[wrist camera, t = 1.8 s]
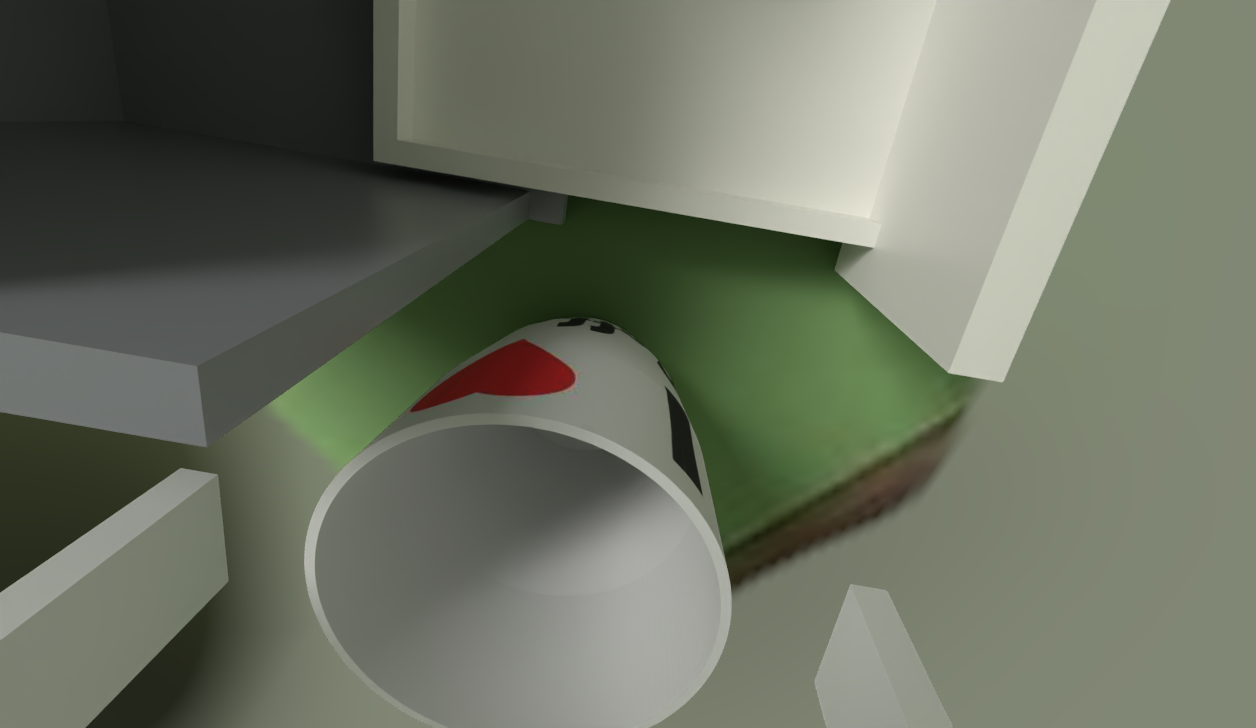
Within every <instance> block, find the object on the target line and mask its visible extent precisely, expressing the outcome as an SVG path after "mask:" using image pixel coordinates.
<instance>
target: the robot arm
mask: <svg viewBox="0 0 1256 728" xmlns="http://www.w3.org/2000/svg"><path fill="white" fill-rule="evenodd" d="M219 492H220V491H219V482H218V475H217V474H212V473H206V472H200V471H194V470H188V469H183V468H180V469H179V470H177V471H176V472H175V473H173V474H172V475H170V476H169V477H168V478H166V479H165V480H163V481H162V482H160V483H159V484H157V485H156V486H154V487H153V488H151V489H150V490H149V491H147V492H146V493H144V494H143V495H141V496H140V497H138V498H137V499H136V500H134V501H133V502H131V503H130V504H128V505H127V506H125V507H124V508H122V509H121V510H120V511H118V512H117V513H115V514H114V515H112V516H111V517H109V518H108V519H107V520H105V521H104V522H102V523H101V524H99V525H98V526H97V527H95V528H93V529H92V530H91V531H89V532H88V533H86V534H85V535H83V536H82V537H80V538H79V539H78V540H76V541H75V542H74V543H72V544H70V545H69V546H67V547H66V548H65V549H63V550H62V551H60V552H59V553H57V554H56V555H54V556H53V557H52V558H50V559H49V560H47V561H46V562H44V563H43V564H41V565H40V566H39V567H37V568H36V569H34V570H33V571H31V572H30V573H28V574H27V575H26V576H24V577H23V578H21V579H20V580H18V581H17V582H15V583H14V584H12V585H11V586H9V587H8V588H7V589H5V590H4V591H2V592H1V593H0V728H85V727H86V726H87V725H88V724H89V723H90V722H91V721H92V720H93V719H94V718H95V717H96V716H97V715H98V714H99V713H100V712H101V711H102V710H103V709H104V708H105V707H106V706H107V705H108V704H109V703H110V702H111V701H112V700H113V698H115V697H116V696H117V695H118V694H119V692H120V691H121V690H122V689H123V688H124V687H125V686H126V685H127V684H128V683H129V682H130V681H131V680H132V679H133V678H134V677H135V676H136V675H137V674H138V673H139V672H140V671H141V670H142V669H143V668H144V667H145V666H146V665H147V664H148V663H149V662H150V661H151V660H152V659H153V658H154V657H155V656H156V655H157V654H158V653H159V652H160V651H161V650H162V648H163V647H164V646H165V645H166V644H167V643H168V642H169V641H170V640H171V639H172V638H173V637H174V636H175V635H176V634H177V633H178V632H179V631H180V630H181V629H182V628H183V627H184V626H185V625H186V624H187V623H188V622H189V621H190V620H191V619H192V618H193V617H194V615H195V614H197V612H199V611H200V610H201V609H202V608H203V606H205V605H206V603H207V602H208V601H209V600H210V599H211V598H212V597H213V596H214V595H215V594H216V593H217V592H218V591H219V590H220V589H221V588H222V587H223V586H224V585H225V584H226V583H227V582H228V571H227V561H226V551H225V541H224V532H223V521H222V513H221V512H222V511H221V501H220V493H219ZM814 685H815V688H816V692H817V695H818V699H819V703H820V706H821V710H822V714H823V718H824V722H825V725H826V728H953V726H952V724H951V722H950V720H949V718H948V715H947V714H946V711H945V709H944V707H943V705H942V703H941V701H940V699H939V697H938V695H937V693H936V691H935V689H934V686H933V684H932V682H931V680H930V678H929V676H928V674H927V672H926V670H925V668H924V666H923V664H922V662H921V659H920V657H919V655H918V653H917V651H916V649H915V647H914V645H913V643H912V641H911V639H910V637H909V635H908V633H907V631H906V628H905V626H904V624H903V622H902V620H901V618H900V616H899V614H898V612H897V610H896V608H895V606H894V603H893V602H892V599H891V598H890V595H889V593H888V591H887V590H883V589H876V588H871V587H865V586H860V585H854V584H850V586H849V589H848V592H847V594H846V597H845V600H844V602H843V605H842V608H841V610H840V613H839V616H838V618H837V621H836V624H835V626H834V629H833V632H832V634H831V637H830V640H829V642H828V645H827V648H826V650H825V653H824V656H823V659H822V661H821V664H820V667H819V669H818V672H817V675H816V678H815V680H814Z"/></svg>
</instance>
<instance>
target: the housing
mask: <svg viewBox="0 0 1256 728" xmlns="http://www.w3.org/2000/svg"><path fill="white" fill-rule="evenodd" d="M567 202H568V195H567V194H561V193H556V192H550V191H544V190H538V189H533V188H527V187H521V186H515V185H510V184H504V183H498V182H492V181H487V180H481V179H475V178H469V177H464V176H458V175H452V174H446V173H441V172H435V171H429V170H423V169H418V168H412V167H406V166H400V165H395V164H389V163H383V162H377V161H373V0H0V412H5V413H10V414H16V415H22V416H27V417H33V418H40V419H45V420H51V421H57V422H63V423H68V424H74V425H80V426H86V427H91V428H97V429H103V430H109V431H115V432H120V433H126V434H133V435H138V436H144V437H150V438H155V439H161V440H167V441H173V442H179V443H185V444H191V445H197V446H202V447H208V446H209V445H211V444H212V443H214V442H215V441H217V440H218V439H219V438H221V437H222V436H224V435H225V434H226V433H228V432H229V431H231V430H232V429H233V428H235V427H236V426H238V425H239V424H241V423H242V422H243V421H245V420H246V419H247V418H249V417H250V416H252V415H253V414H254V413H256V412H257V411H259V410H260V409H262V408H263V407H264V406H266V405H267V404H269V403H270V402H271V401H273V400H274V399H276V398H277V397H279V396H280V395H281V394H283V393H284V392H286V391H287V390H288V389H290V388H291V387H293V386H294V385H295V384H297V383H298V382H300V381H301V380H302V379H304V378H305V377H307V376H308V375H309V374H311V373H312V372H314V371H315V370H316V369H318V368H319V367H321V366H322V365H324V364H325V363H326V362H328V361H329V360H331V359H332V358H333V357H335V356H336V355H338V354H339V353H340V352H342V351H343V350H345V349H346V348H347V347H349V346H350V345H352V344H353V343H354V342H356V341H357V340H359V339H360V338H361V337H363V336H364V335H366V334H367V333H369V332H370V331H371V330H373V329H374V328H376V327H377V326H378V325H380V324H381V323H383V322H384V321H385V320H387V319H388V318H390V317H391V316H392V315H394V314H395V313H397V312H398V311H399V310H401V309H402V308H404V307H405V306H406V305H408V304H409V303H411V302H412V301H413V300H415V299H416V298H418V297H419V296H421V295H422V294H423V293H425V292H426V291H428V290H429V289H430V288H432V287H433V286H435V285H436V284H437V283H439V282H440V281H442V280H443V279H444V278H446V277H447V276H449V275H450V274H451V273H453V272H454V271H456V270H457V269H458V268H460V267H461V266H463V265H464V264H466V263H467V262H468V261H470V260H471V259H473V258H474V257H475V256H477V255H478V254H480V253H481V252H482V251H484V250H485V249H487V248H488V247H489V246H491V245H492V244H494V243H495V242H496V241H498V240H499V239H501V238H502V237H503V236H505V235H506V234H508V233H509V232H511V231H512V230H513V229H515V228H516V227H518V226H519V225H520V224H522V223H523V222H525V221H526V220H527V219H528V220H534V221H540V222H546V223H551V224H557V225H562V224H563V223H564V222H565V219H566V211H567Z"/></svg>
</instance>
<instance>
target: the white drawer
mask: <svg viewBox="0 0 1256 728" xmlns="http://www.w3.org/2000/svg"><path fill="white" fill-rule="evenodd" d="M1170 1H1171V0H373V161H377V162H383V163H389V164H395V165H400V166H406V167H412V168H418V169H423V170H429V171H435V172H441V173H446V174H452V175H458V176H464V177H469V178H475V179H481V180H487V181H492V182H498V183H504V184H510V185H515V186H521V187H527V188H533V189H538V190H544V191H550V192H556V193H561V194H567V195H573V196H579V197H584V198H590V199H596V200H602V201H607V202H613V203H619V204H624V205H630V206H636V207H642V208H647V209H653V210H659V211H665V212H670V213H676V214H682V215H688V216H693V217H699V218H705V219H711V220H716V221H722V222H728V223H734V224H739V225H745V226H751V227H757V228H762V229H768V230H774V231H780V232H785V233H791V234H797V235H803V236H808V237H814V238H820V239H826V240H831V241H837V242H843V243H842V246H841V249H840V253H839V256H838V260H837V263H836V266H835V271H836V272H837V273H838V274H839V275H840V276H841V277H842V278H844V279H845V280H846V281H847V282H848V283H849V284H850V285H851V286H852V287H854V288H855V289H856V290H857V291H858V292H859V293H860V294H861V295H862V296H864V297H865V298H866V299H867V300H868V301H869V302H870V303H871V304H872V305H873V306H875V307H876V308H877V309H878V310H879V311H880V312H881V313H882V314H883V315H885V316H886V317H887V318H888V319H889V320H890V321H891V322H892V323H893V324H895V325H896V326H897V327H898V328H899V329H900V330H901V331H902V332H903V333H904V334H906V335H907V336H908V337H909V338H910V339H911V340H912V341H913V342H914V343H916V344H917V345H918V346H919V347H920V348H921V349H922V350H923V351H924V352H926V353H927V354H928V355H929V356H930V357H931V358H932V359H933V360H934V361H935V362H937V363H938V364H939V365H940V366H941V367H942V368H943V369H944V370H945V371H947V372H948V373H951V374H957V375H962V376H968V377H974V378H980V379H986V380H991V381H997V382H1004V379H1005V377H1006V375H1007V372H1008V370H1009V368H1010V366H1011V363H1012V361H1013V359H1014V356H1015V354H1016V352H1017V350H1018V347H1019V345H1020V343H1021V341H1022V338H1023V336H1024V334H1025V331H1026V329H1027V327H1028V325H1029V322H1030V320H1031V318H1032V315H1033V313H1034V311H1035V309H1036V306H1037V304H1038V302H1039V300H1040V297H1041V295H1042V292H1043V290H1044V288H1045V286H1046V284H1047V281H1048V279H1049V277H1050V274H1051V272H1052V270H1053V267H1054V265H1055V263H1056V261H1057V258H1058V256H1059V254H1060V252H1061V249H1062V247H1063V245H1064V243H1065V240H1066V238H1067V236H1068V233H1069V231H1070V229H1071V227H1072V224H1073V222H1074V220H1075V217H1076V215H1077V213H1078V211H1079V208H1080V206H1081V204H1082V201H1083V199H1084V197H1085V195H1086V192H1087V190H1088V188H1089V185H1090V183H1091V181H1092V178H1093V176H1094V174H1095V172H1096V169H1097V167H1098V165H1099V163H1100V160H1101V158H1102V156H1103V154H1104V151H1105V149H1106V147H1107V144H1108V142H1109V140H1110V138H1111V135H1112V133H1113V131H1114V128H1115V126H1116V124H1117V121H1118V119H1119V117H1120V115H1121V112H1122V110H1123V108H1124V106H1125V103H1126V101H1127V99H1128V97H1129V94H1130V92H1131V90H1132V87H1133V85H1134V83H1135V81H1136V78H1137V76H1138V73H1139V71H1140V69H1141V67H1142V65H1143V62H1144V60H1145V58H1146V55H1147V53H1148V51H1149V49H1150V46H1151V44H1152V42H1153V40H1154V37H1155V35H1156V33H1157V30H1158V28H1159V26H1160V23H1161V21H1162V19H1163V16H1164V14H1165V12H1166V10H1167V7H1168V5H1169V3H1170Z"/></svg>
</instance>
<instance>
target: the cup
mask: <svg viewBox="0 0 1256 728" xmlns="http://www.w3.org/2000/svg"><path fill="white" fill-rule="evenodd" d="M304 563H305V577H306V584H307V589H308V593H309V597H310V601H311V604H312V607H313V610H314V612H315V615H316V617H317V619H318V622H319V624H320V626H321V628H322V630H323V632H324V633H325V635H326V637H327V639H328V640H329V642H330V643H331V645H332V646H333V648H334V649H335V650H336V652H337V653H338V655H339V656H340V657H341V659H342V660H343V661H344V662H345V663H346V665H347V666H348V667H349V668H350V669H351V670H352V671H353V672H354V673H355V674H356V675H357V676H358V677H359V678H360V679H361V680H362V681H363V682H364V683H365V684H366V685H367V686H368V687H369V688H371V689H372V690H373V691H374V692H375V693H377V694H378V695H379V696H380V697H382V698H383V699H385V700H386V701H387V702H389V703H390V704H392V705H393V706H395V707H396V708H398V709H399V710H401V711H403V712H404V713H406V714H408V715H409V716H411V717H413V718H415V719H417V720H419V721H421V722H423V723H425V724H427V725H429V726H431V727H433V728H650V727H652V726H654V725H656V724H657V723H659V722H661V721H662V720H664V719H666V718H667V717H668V716H670V715H671V714H673V713H674V712H676V711H677V710H678V709H679V708H681V707H682V706H683V705H684V704H685V703H687V702H688V701H689V700H690V699H691V698H692V697H693V696H694V695H695V694H696V692H697V691H698V690H699V689H700V688H701V687H702V686H703V684H704V683H705V682H706V680H707V679H708V677H709V676H710V675H711V673H712V672H713V670H714V668H715V666H716V664H717V663H718V661H719V658H720V656H721V654H722V652H723V649H724V647H725V644H726V641H727V637H728V633H729V627H730V622H731V613H732V595H731V585H730V579H729V574H728V569H727V565H726V560H725V556H724V551H723V546H722V542H721V537H720V532H719V528H718V523H717V519H716V514H715V509H714V505H713V500H712V495H711V491H710V486H709V482H708V477H707V472H706V468H705V463H704V458H703V454H702V451H701V447H700V444H699V442H698V439H697V437H696V434H695V432H694V430H693V427H692V425H691V423H690V421H689V418H688V416H687V414H686V412H685V409H684V407H683V405H682V403H681V400H680V398H679V396H678V394H677V391H676V389H675V387H674V385H673V383H672V380H671V378H670V377H669V375H668V373H667V372H666V370H665V369H664V367H663V366H662V364H661V363H660V362H659V361H658V359H657V358H656V357H655V356H654V355H653V354H652V353H651V352H650V351H649V350H648V349H647V348H646V347H644V346H643V345H642V344H641V343H640V342H639V341H638V340H636V339H635V338H634V337H633V336H632V335H631V334H629V333H628V332H627V331H625V330H624V329H622V328H620V327H618V326H616V325H614V324H612V323H610V322H607V321H604V320H600V319H596V318H589V317H571V318H561V319H552V320H546V321H541V322H537V323H533V324H530V325H528V326H525V327H523V328H520V329H518V330H516V331H514V332H513V333H511V334H509V335H508V336H506V337H504V338H502V339H501V340H499V341H497V342H496V343H494V344H492V345H491V346H489V347H487V348H486V349H484V350H482V351H481V352H479V353H477V354H476V355H474V356H472V357H471V358H469V359H467V360H466V361H464V362H462V363H460V364H459V365H457V366H456V367H454V368H453V369H452V370H450V371H449V372H448V373H447V374H445V375H444V376H443V377H442V378H441V379H440V380H439V381H437V382H436V383H435V384H434V385H433V386H432V387H431V388H430V389H429V390H428V391H427V392H425V393H424V394H423V395H422V396H421V397H420V398H419V399H418V400H417V401H416V402H415V403H413V404H412V405H411V406H410V407H409V408H408V409H407V410H406V411H405V412H404V413H403V414H401V415H400V416H399V417H398V418H397V419H396V420H395V421H394V422H393V423H392V424H391V425H389V426H388V427H387V428H386V429H385V430H384V431H383V432H382V433H381V434H380V435H379V436H377V437H376V438H375V439H374V440H373V441H372V442H371V443H370V444H369V445H368V446H367V447H365V448H364V449H363V450H362V451H361V452H360V453H359V454H358V455H357V456H356V457H355V458H353V459H352V460H351V461H350V462H349V463H348V464H347V465H346V466H345V467H344V468H343V469H342V470H341V471H340V472H339V473H338V474H337V475H336V477H335V478H334V479H333V480H332V482H331V483H330V484H329V486H328V487H327V489H326V490H325V492H324V493H323V495H322V497H321V498H320V500H319V502H318V504H317V506H316V509H315V511H314V514H313V516H312V518H311V521H310V525H309V528H308V533H307V538H306V544H305V556H304Z"/></svg>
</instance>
